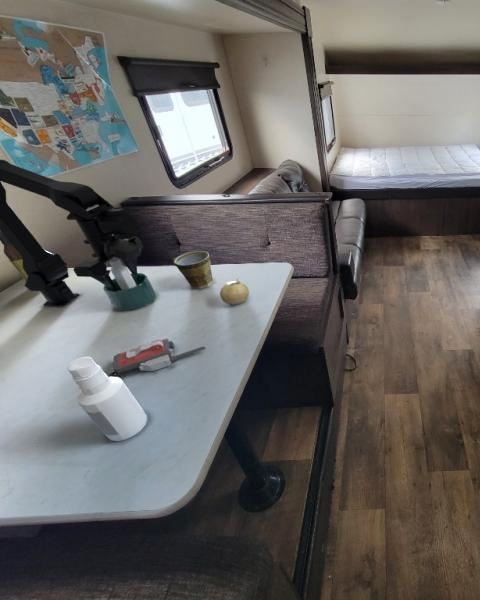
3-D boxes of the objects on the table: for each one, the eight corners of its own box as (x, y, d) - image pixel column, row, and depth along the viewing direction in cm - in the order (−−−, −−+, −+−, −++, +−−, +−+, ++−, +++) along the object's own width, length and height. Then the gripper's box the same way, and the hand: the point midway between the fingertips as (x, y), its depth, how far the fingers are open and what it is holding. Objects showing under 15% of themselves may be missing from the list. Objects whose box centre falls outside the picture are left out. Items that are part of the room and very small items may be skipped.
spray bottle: (120, 413, 71) (72, 351, 61) (154, 411, 71) (112, 348, 61) (99, 443, 65) (42, 379, 55) (136, 440, 66) (86, 376, 55)
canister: (106, 310, 101) (93, 291, 98) (132, 291, 111) (122, 272, 107) (140, 312, 101) (129, 292, 97) (164, 292, 110) (155, 273, 106)
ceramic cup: (224, 277, 117) (215, 251, 111) (206, 293, 109) (195, 266, 103) (191, 274, 119) (180, 249, 113) (170, 290, 111) (158, 263, 105)
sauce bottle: (59, 280, 117) (22, 226, 105) (40, 289, 112) (-2, 234, 100) (45, 278, 118) (6, 224, 107) (25, 287, 113) (-18, 232, 102)
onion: (234, 311, 101) (227, 291, 97) (218, 303, 104) (210, 283, 100) (256, 298, 106) (250, 278, 102) (240, 291, 110) (233, 272, 106)
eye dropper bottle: (122, 297, 101) (101, 261, 94) (122, 289, 105) (102, 254, 98) (139, 292, 103) (120, 257, 96) (138, 284, 107) (120, 250, 100)
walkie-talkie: (111, 387, 77) (207, 354, 85) (101, 373, 74) (201, 341, 83) (114, 363, 83) (203, 335, 92) (105, 350, 81) (197, 322, 89)
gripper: (98, 249, 85) (127, 300, 93) (149, 221, 100) (170, 267, 109) (57, 248, 85) (90, 299, 94) (113, 220, 101) (137, 266, 109)
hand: (125, 281), depth 102 cm, fingers closed on eye dropper bottle, 8 cm apart
